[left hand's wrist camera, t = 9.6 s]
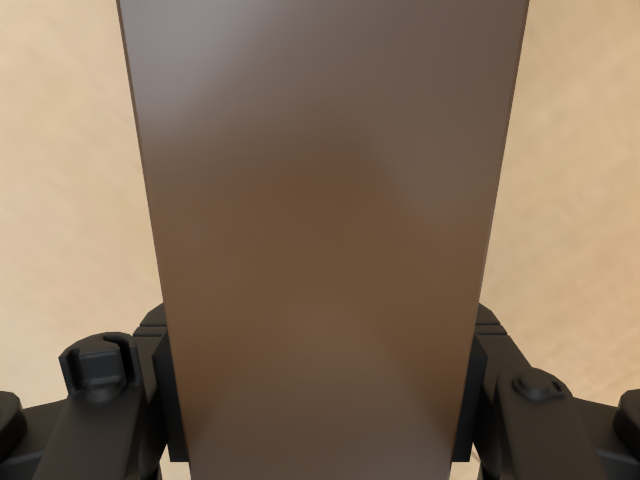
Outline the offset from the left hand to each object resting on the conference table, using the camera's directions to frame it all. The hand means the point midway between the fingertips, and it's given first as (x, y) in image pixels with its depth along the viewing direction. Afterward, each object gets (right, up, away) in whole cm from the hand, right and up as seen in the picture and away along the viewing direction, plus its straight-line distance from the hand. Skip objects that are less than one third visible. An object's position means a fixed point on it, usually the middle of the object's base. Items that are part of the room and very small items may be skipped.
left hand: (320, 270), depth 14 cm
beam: (0, +16, -6) cm, 18 cm away
